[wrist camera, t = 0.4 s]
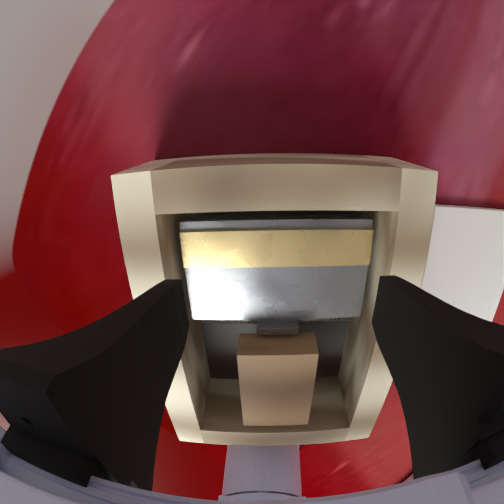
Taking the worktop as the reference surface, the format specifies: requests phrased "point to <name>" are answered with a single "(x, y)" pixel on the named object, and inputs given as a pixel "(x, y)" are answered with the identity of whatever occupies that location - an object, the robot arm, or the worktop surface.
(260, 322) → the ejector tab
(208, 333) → the pocket board
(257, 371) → the walnut bar
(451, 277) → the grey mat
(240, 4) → the worktop surface
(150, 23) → the worktop surface
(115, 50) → the worktop surface
